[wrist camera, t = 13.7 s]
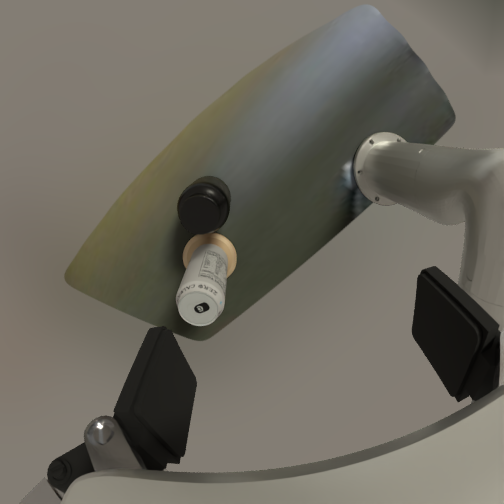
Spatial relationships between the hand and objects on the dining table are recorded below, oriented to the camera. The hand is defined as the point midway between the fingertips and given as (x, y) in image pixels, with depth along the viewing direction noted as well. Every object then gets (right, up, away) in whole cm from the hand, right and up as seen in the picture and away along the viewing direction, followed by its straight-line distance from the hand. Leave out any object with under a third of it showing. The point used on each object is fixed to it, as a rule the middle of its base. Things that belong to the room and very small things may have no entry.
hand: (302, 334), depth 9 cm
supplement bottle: (-8, +12, +33) cm, 36 cm away
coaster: (-9, +2, +37) cm, 38 cm away
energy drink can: (-9, +2, +36) cm, 37 cm away
